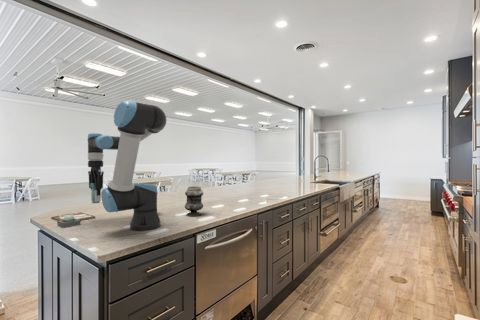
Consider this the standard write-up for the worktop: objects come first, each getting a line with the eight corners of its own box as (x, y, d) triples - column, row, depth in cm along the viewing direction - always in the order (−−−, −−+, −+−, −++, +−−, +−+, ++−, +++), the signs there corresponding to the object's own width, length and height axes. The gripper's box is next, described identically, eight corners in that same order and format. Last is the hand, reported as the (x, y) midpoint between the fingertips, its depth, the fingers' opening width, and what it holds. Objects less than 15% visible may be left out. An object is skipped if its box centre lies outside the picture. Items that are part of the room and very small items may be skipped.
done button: (75, 220, 134) (75, 215, 134) (66, 222, 130) (66, 217, 130) (71, 219, 136) (71, 214, 136) (62, 221, 133) (62, 215, 133)
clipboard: (95, 218, 149) (95, 215, 149) (65, 223, 136) (65, 220, 136) (80, 213, 161) (80, 211, 161) (51, 218, 148) (51, 216, 148)
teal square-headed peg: (101, 202, 141) (101, 182, 141) (93, 203, 138) (93, 183, 138) (98, 201, 144) (97, 182, 144) (90, 203, 140) (90, 183, 140)
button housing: (80, 224, 134) (80, 220, 134) (63, 227, 128) (63, 223, 128) (74, 222, 139) (74, 218, 139) (57, 225, 132) (57, 220, 132)
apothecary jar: (201, 217, 153) (201, 188, 153) (182, 216, 153) (182, 188, 153) (204, 212, 165) (204, 186, 165) (187, 212, 165) (187, 186, 165)
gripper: (109, 160, 139) (110, 201, 139) (95, 160, 149) (95, 198, 149) (95, 160, 133) (96, 203, 133) (81, 160, 143) (82, 200, 142)
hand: (95, 200), depth 141 cm, fingers closed on teal square-headed peg, 4 cm apart
